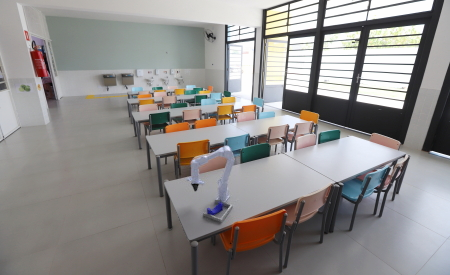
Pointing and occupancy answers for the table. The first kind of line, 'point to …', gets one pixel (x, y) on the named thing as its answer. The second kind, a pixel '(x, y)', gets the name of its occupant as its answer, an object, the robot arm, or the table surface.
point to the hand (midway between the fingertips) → (195, 190)
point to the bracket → (223, 215)
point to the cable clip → (215, 209)
